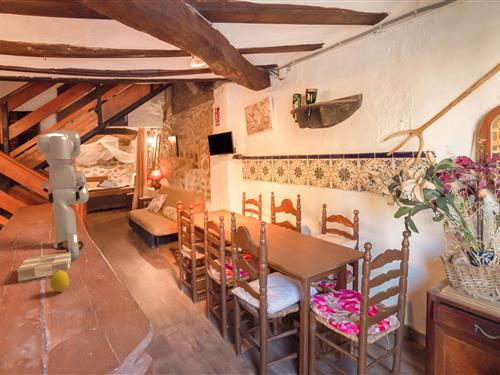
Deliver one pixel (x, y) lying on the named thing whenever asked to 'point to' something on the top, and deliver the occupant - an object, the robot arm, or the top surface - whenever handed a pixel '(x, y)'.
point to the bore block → (43, 266)
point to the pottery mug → (64, 245)
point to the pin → (73, 245)
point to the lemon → (59, 281)
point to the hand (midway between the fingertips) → (64, 201)
